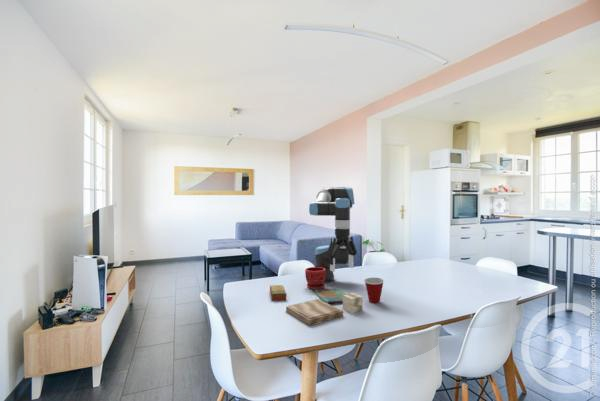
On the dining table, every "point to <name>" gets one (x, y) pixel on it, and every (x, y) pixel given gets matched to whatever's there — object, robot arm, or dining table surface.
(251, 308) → the dining table surface
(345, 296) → the cube
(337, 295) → the teal book
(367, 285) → the plastic cup
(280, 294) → the carton
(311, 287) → the plant pot
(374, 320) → the dining table surface
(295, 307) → the board
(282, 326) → the dining table surface
